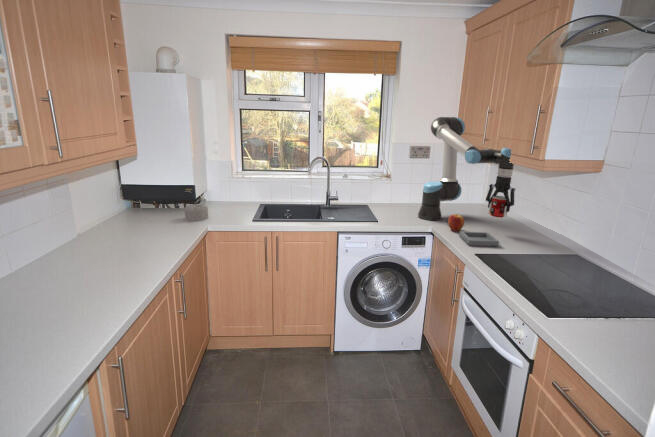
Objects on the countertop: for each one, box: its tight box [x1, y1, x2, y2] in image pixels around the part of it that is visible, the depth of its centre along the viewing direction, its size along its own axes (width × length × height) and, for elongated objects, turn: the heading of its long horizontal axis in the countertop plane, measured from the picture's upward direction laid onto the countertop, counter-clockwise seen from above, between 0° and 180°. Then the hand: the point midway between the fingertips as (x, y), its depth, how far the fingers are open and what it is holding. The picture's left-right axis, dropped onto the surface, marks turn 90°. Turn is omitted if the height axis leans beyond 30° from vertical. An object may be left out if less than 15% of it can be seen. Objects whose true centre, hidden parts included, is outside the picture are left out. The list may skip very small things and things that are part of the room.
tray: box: [459, 230, 500, 248], centre depth 204 cm, size 16×16×3 cm
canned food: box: [489, 195, 507, 218], centre depth 214 cm, size 8×8×11 cm
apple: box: [447, 213, 465, 232], centre depth 221 cm, size 9×9×10 cm
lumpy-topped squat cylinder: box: [184, 203, 209, 223], centre depth 229 cm, size 10×13×9 cm
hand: (497, 215), depth 216 cm, fingers closed on canned food, 8 cm apart
